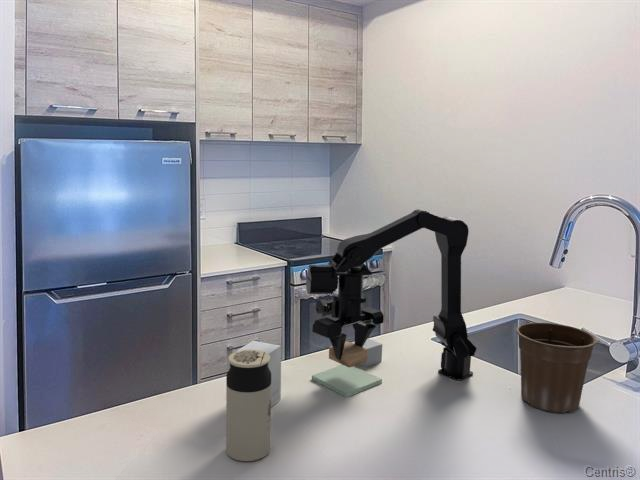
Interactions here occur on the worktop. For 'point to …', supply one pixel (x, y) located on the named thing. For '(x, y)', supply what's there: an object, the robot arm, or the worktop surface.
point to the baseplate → (346, 380)
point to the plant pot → (553, 365)
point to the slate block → (372, 352)
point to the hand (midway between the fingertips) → (347, 355)
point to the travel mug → (248, 405)
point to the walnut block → (350, 355)
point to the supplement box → (270, 366)
